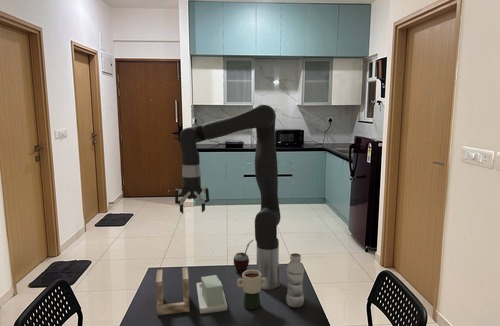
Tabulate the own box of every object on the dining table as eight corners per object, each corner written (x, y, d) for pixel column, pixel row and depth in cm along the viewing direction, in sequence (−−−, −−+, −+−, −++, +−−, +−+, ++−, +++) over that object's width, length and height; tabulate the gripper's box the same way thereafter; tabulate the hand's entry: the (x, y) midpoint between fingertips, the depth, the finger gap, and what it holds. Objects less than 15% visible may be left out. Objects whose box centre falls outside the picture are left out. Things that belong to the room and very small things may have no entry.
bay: (188, 295, 143) (187, 267, 141) (189, 311, 132) (188, 280, 130) (158, 298, 141) (157, 269, 139) (157, 315, 130) (155, 284, 128)
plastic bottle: (303, 311, 132) (304, 259, 129) (285, 309, 133) (285, 258, 130) (304, 301, 138) (305, 252, 135) (286, 300, 139) (287, 251, 136)
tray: (220, 284, 152) (220, 280, 151) (227, 310, 132) (227, 305, 132) (196, 287, 150) (196, 282, 149) (200, 313, 130) (200, 308, 130)
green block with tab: (214, 287, 149) (213, 270, 149) (223, 304, 133) (222, 285, 132) (199, 289, 147) (199, 272, 147) (207, 307, 131) (206, 288, 131)
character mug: (265, 300, 139) (265, 269, 137) (267, 310, 132) (267, 277, 130) (237, 301, 138) (236, 269, 137) (237, 311, 131) (237, 278, 130)
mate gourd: (230, 271, 164) (230, 240, 162) (242, 266, 170) (241, 235, 168) (242, 276, 159) (242, 244, 157) (254, 270, 165) (254, 239, 163)
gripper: (207, 172, 156) (208, 209, 158) (174, 174, 153) (175, 211, 155) (209, 175, 148) (210, 213, 151) (174, 177, 145) (175, 216, 148)
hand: (192, 212), depth 153 cm, fingers open, 8 cm apart
